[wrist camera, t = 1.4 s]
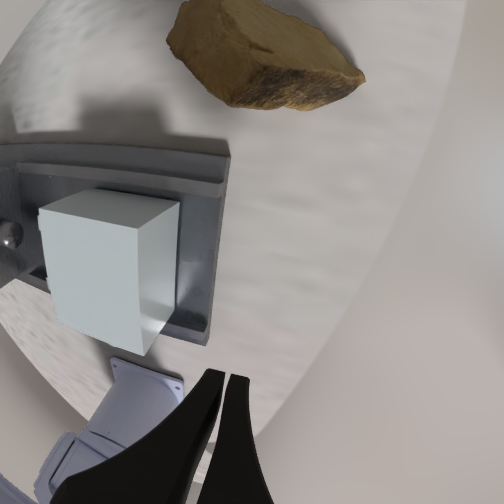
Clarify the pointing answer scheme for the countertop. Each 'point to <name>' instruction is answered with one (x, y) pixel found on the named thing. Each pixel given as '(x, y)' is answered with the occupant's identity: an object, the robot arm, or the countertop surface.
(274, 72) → the rock
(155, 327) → the pale blue-grey box
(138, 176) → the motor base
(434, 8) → the countertop surface
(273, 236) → the countertop surface
